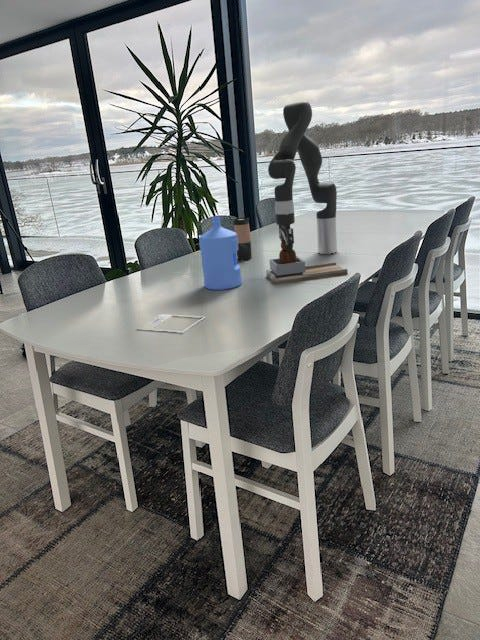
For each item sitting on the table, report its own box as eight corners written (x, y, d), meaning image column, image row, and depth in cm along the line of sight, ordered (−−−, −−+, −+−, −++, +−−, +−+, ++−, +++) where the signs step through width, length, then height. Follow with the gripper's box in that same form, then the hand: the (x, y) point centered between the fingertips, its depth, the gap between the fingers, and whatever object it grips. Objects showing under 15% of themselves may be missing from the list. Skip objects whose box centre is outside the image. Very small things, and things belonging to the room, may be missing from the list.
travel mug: (254, 257, 253) (251, 217, 246) (248, 260, 246) (244, 219, 240) (241, 257, 256) (237, 217, 250) (234, 260, 250) (230, 220, 243)
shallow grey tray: (270, 273, 213) (269, 259, 211) (297, 269, 215) (296, 256, 213) (277, 280, 202) (276, 265, 200) (305, 276, 203) (305, 261, 201)
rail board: (266, 276, 214) (266, 269, 213) (335, 267, 218) (335, 260, 217) (274, 284, 201) (273, 277, 200) (347, 274, 205) (347, 267, 204)
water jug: (214, 293, 197) (205, 221, 188) (198, 285, 211) (190, 218, 201) (248, 285, 204) (242, 215, 194) (231, 278, 217) (225, 213, 208)
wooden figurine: (297, 265, 209) (295, 229, 204) (294, 269, 204) (292, 232, 199) (282, 265, 211) (279, 230, 206) (278, 269, 206) (276, 233, 201)
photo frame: (161, 313, 176) (205, 316, 169) (161, 316, 177) (205, 319, 169) (136, 327, 164) (182, 331, 156) (136, 331, 164) (183, 334, 157)
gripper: (271, 211, 206) (274, 249, 211) (279, 215, 193) (282, 256, 198) (289, 209, 207) (291, 247, 212) (298, 212, 194) (300, 254, 199)
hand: (287, 251), depth 205 cm, fingers open, 8 cm apart
